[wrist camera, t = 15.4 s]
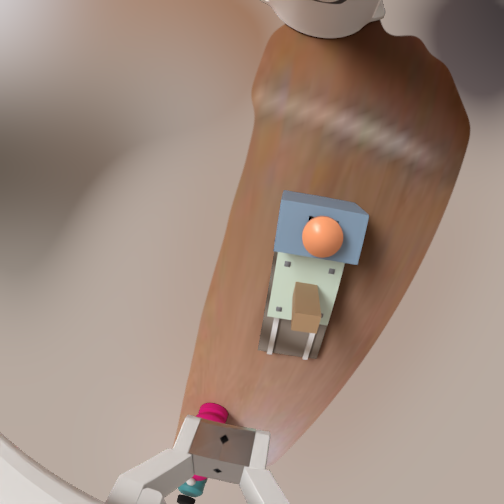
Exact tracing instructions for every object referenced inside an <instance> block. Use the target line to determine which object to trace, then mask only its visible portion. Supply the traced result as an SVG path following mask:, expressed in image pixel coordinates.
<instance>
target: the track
mask: <svg viewBox="0 0 504 504" xmlns="http://www.w3.org/2000/svg"><path fill="white" fill-rule="evenodd" d="M277 255H278V252H276V251H274V257H273V263H272V270H271V276H270V282H269V288H268V294H267V300H266V306H265V312H264V318H263V324H262V329H261V335H260V341H259V346H258V350H261V351H267V354H271V355H272V352H273V353H279V354H285V355H292V356H299V357H303V359H304V360H307V359H308V358H314V359H316V358H317V355H318V352H319V349H320V346H321V343H322V340H323V337H324V334H325V331H326V327H327V325H321V324H319V327H318V330H317V334H314V333H307V332H300V331H294V330H291V320H287V319H281V318H275V317H269V316H267V313H268V308H269V302H270V296H271V291H272V285H273V279H274V273H275V267H276V261H277Z"/></svg>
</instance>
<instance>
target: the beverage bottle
mask: <svg viewBox="0 0 504 504" xmlns="http://www.w3.org/2000/svg"><path fill="white" fill-rule="evenodd" d="M206 481H207V479H205V480H202V481H196V483H195V485H193V486H190V485H188V484H187V483H186V482H185V483H184V484H182V485H181V486H180V487H178V489H179V491H180V492H181V493H183V494H185V495H178V499H177V502H178V503H179V504H194V503H195V499H193V498H191V497H198V496H200V495H202V493H203V489H204V486H205V483H206ZM186 495H187V496H186ZM189 496H191V497H189Z"/></svg>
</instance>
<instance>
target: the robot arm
mask: <svg viewBox="0 0 504 504" xmlns="http://www.w3.org/2000/svg"><path fill="white" fill-rule="evenodd" d="M260 1H262V2H263V3H266V4H267V5H269V6H270V7H271V8H272V9H273V10H274V11H275V13H276V14H277V16H278V17H279V18H280V19H281V20H282V21H283V22H284V23H286V24H287V25H288V26H290V27H291V28H293V29H295V30H297V31H299V32H301V33H304V34H307V35H310V36H314V37H320V38H340V37H345V36H348V35H351V34H354V33H355V32H357V31H359V30H360V29H361V28H362V27H364V26H365V25H366V24H367V23H369V22H372V21H377V20H380V19H382V18H383V17H384V15H385V8H384V5H383V1H382V0H260ZM270 435H271V434H270V431H264V430H256V429H253V428H247V427H241V426H235V425H230V424H229V425H228V424H224V423H219V422H215V421H211V420H207V419H203V418H200V417H196V416H192V415H187V417H186V418H185V420H184V423H183V425H182V428H181V430H180V432H179V435H178V437H177V440H176V442H175V444H174V447H173V449H171V448H168V449H166V450H164V451H163V452H161V453H159V454H157V455H156V456H154V457H152V458H150V459H149V460H147V461H145V462H144V463H142V464H140V465H138V466H136V467H134V468H132V469H130V470H128V471H127V472H125V473H123V474H121V475H119V477H118V479H117V481H116V483H115V485H114V487H113V489H112V491H111V493H110V494H109V496H108V499H107V500H106V502H105V503H104V502H102V501H100V500H98V499H96V498H94V497H93V496H90V495H89V494H87V493H85V492H83V491H82V490H80V489H78V488H76V487H74V486H73V485H71V484H69V483H68V482H66V481H64V480H63V479H61V478H60V477H58V476H57V475H55V474H54V473H52V472H50V471H49V470H47V469H46V468H45V467H43V466H42V465H40V464H39V463H38V462H36V461H35V460H33V459H32V458H31V457H30V456H28V455H27V454H26V453H24V452H23V451H22V450H20V449H19V448H18V447H17V446H16V445H14V444H13V443H12V442H11V441H10V440H8V439H7V438H6V437H5V436H4V435H3V434H2V433H1V432H0V504H166V502H165V500H164V497H166V496H167V495H168V494H170V493H171V492H173V491H174V490H176V489H177V488H178V487H180V486H181V485H182V484H184V483H185V482H186V481H188V480H189V479H190V478H192V477H193V476H194V475H198V476H203V477H207V478H212V479H217V480H221V481H225V482H230V483H235V484H239V486H240V488H241V491H242V493H243V495H244V497H245V499H246V502H247V503H248V504H290V503H289V501H288V500H287V498H286V497H285V495H284V493H283V492H282V490H281V488H280V487H279V485H278V483H277V482H276V480H275V478H274V477H273V475H272V473H271V471H270V470H266V463H267V456H268V449H269V442H270Z"/></svg>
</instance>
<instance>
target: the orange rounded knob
mask: <svg viewBox="0 0 504 504" xmlns="http://www.w3.org/2000/svg"><path fill="white" fill-rule="evenodd" d="M302 240H303V245H304V247H305V249H306V250H307V251H308V252H309V253H310V254H311V255H313V256H316V257H320V258H325V257H329V256H332V255H334V254H335V253H336V252H337V251H338V250H339V249H340V247H341V246H342V243H343V232H342V229H341V227H340V225H339V224H338V223H337V221H335V220H334V219H333V218H331V217H328V216H316V217H314V218H312V219H310V220H309V221H308V222H307V223H306V225H305V226H304V228H303V232H302Z"/></svg>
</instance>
